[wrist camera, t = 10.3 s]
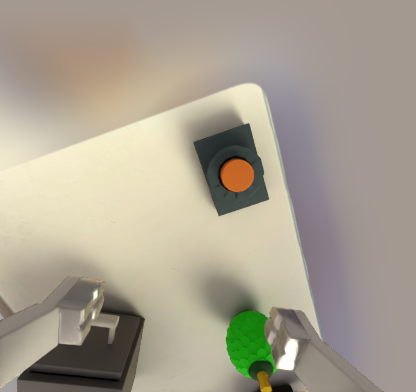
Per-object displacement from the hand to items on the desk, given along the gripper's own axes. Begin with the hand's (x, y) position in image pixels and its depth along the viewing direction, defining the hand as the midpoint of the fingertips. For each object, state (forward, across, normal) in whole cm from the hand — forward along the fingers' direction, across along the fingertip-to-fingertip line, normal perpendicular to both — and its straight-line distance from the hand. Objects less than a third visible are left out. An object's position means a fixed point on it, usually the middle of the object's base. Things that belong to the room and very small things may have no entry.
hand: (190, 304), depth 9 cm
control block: (+18, -4, -5) cm, 19 cm away
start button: (+15, -4, -5) cm, 16 cm away
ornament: (+18, -13, +19) cm, 29 cm away
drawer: (+17, +10, +25) cm, 32 cm away
